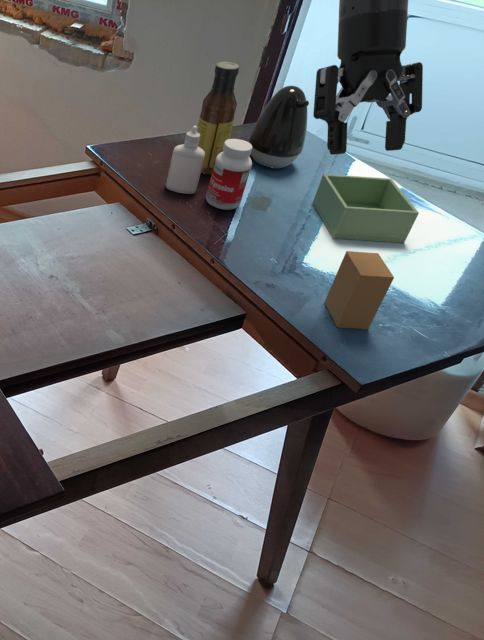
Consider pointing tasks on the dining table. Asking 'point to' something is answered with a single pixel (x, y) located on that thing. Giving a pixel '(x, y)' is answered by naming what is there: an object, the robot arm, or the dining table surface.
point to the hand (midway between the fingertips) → (366, 152)
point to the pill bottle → (230, 175)
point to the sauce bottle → (217, 114)
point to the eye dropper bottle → (186, 165)
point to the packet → (358, 290)
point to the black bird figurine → (280, 129)
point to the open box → (364, 208)
